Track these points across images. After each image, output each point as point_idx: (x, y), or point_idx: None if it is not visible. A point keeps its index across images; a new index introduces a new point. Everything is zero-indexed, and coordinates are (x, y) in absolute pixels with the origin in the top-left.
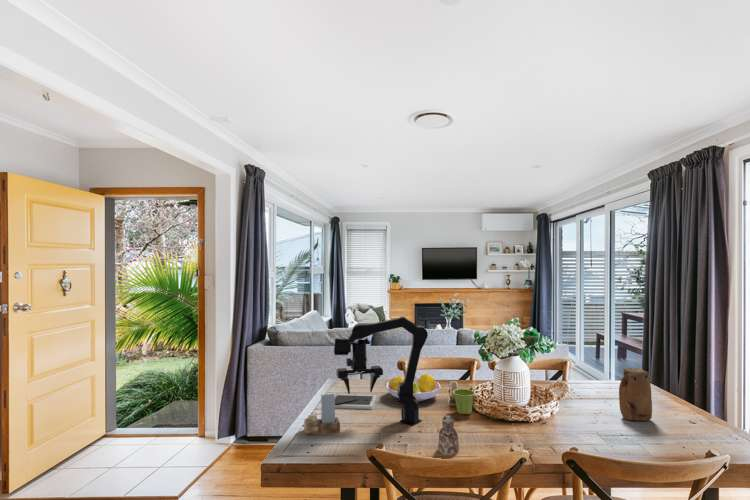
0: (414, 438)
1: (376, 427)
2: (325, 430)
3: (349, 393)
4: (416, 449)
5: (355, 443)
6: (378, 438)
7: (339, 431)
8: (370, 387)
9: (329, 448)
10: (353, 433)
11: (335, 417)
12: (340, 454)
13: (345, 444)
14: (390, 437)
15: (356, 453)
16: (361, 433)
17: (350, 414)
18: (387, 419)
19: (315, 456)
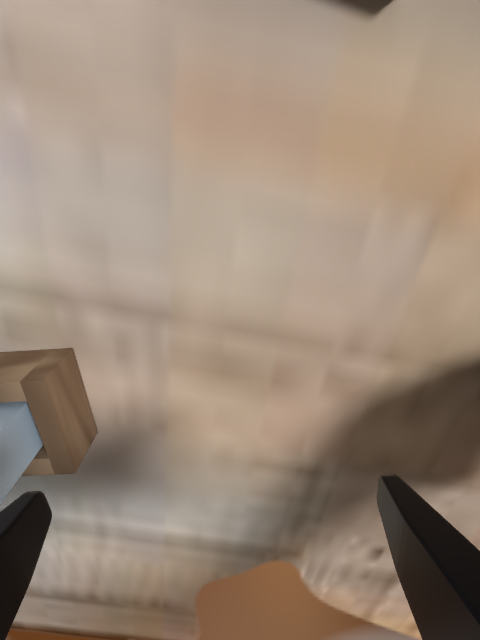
0: None
1: (318, 407)
2: None
3: (45, 530)
4: None
5: (180, 540)
6: (294, 518)
7: (92, 435)
8: (410, 562)
9: (67, 558)
10: (174, 454)
11: (26, 383)
12: (118, 597)
13: (135, 541)
14: (354, 519)
15: (180, 600)
16: (218, 461)
17: (159, 120)
18: (435, 298)
19: None
